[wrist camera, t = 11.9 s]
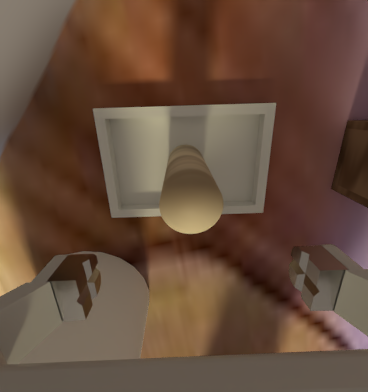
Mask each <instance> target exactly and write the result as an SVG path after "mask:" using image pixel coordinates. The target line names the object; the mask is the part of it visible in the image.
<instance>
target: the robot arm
mask: <svg viewBox="0 0 368 392" xmlns="http://www.w3.org/2000/svg"><path fill="white" fill-rule="evenodd" d="M291 256H292V257H293V259H294V260H293V261H292V262H291V263H290V264H289V276H290V280H291V282H292V284H293V285H294V287H295V288H296V289H298V290H299V291H301V292H302V293H301V297H302V299H303V300H304V302H305V303H306V305H307V306H308V308H309V309H310V311H334V312H335V313H336V314H338V315H339V316H341V317H342V318H343V319H345V320H346V321H347V322H349V323H350V324H352V325H353V326H354V327H356V328H357V329H359V330H360V331H361V332H363V333H364V334H365V335H367V336H368V269H363V268H362V267H361V266H359V265H358V264H357V263H356V262H354V261H353V260H352V259H351V258H350V257H348V256H347V255H346V254H345V253H343V252H342V251H341V250H340V249H339V248H337V247H336V246H335V245H332V244H325V245H314V246H295V247H293V249H292V252H291ZM97 264H98V260H97V256H96V255H95V254H70V255H69V254H64V255H56V256H54V257H53V258H52V260H51V261H50V262H49V263H48V264H47V265H46V266H45V267H44V268H43V270H42V271H41V272H40V273H39V274H38V275H37V276H36V277H35V278H34V279H33V281H32V282H31V283H25V284H23V285H21V286H19V287H17V288H16V289H14V290H12V291H10V292H8V293H6V294H4V295H2V296H1V297H0V392H368V349H358V350H334V351H311V352H287V353H263V354H239V355H215V356H191V357H167V358H144V359H120V360H97V361H74V362H50V363H25V364H18V363H19V362H20V361H21V360H22V359H23V358H25V357H26V356H27V355H28V354H29V353H30V352H31V351H32V350H33V349H34V348H35V347H37V346H38V345H39V344H40V343H41V342H42V341H43V340H44V339H45V338H46V337H47V336H49V335H50V334H51V333H52V332H53V331H54V330H55V329H56V328H57V327H58V326H59V325H61V324H62V322H63V321H78V320H86V318H87V316H88V314H89V312H90V310H91V308H92V306H93V303H92V299H93V298H95V297H96V296H97V295H98V292H99V290H100V285H101V274H100V271H99V270H98V269H97V268H96V266H97Z"/></svg>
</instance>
